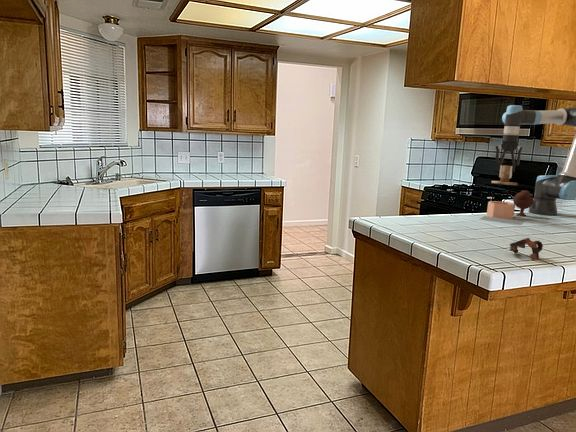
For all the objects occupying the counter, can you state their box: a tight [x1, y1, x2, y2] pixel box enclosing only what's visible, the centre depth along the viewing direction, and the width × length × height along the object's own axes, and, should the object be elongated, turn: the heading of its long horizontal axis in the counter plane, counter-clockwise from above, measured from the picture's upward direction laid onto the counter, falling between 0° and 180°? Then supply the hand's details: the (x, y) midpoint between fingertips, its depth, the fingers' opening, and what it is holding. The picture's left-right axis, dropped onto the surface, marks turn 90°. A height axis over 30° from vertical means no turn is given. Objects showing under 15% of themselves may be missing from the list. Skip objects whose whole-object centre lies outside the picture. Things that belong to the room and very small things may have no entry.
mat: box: [479, 215, 525, 226], centre depth 238 cm, size 20×14×1 cm
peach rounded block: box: [491, 164, 518, 186], centre depth 246 cm, size 13×13×10 cm
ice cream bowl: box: [512, 189, 534, 218], centre depth 257 cm, size 11×11×15 cm
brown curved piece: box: [509, 237, 544, 261], centre depth 166 cm, size 12×10×8 cm
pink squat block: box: [486, 200, 516, 219], centre depth 250 cm, size 13×13×8 cm
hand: (505, 177), depth 246 cm, fingers closed on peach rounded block, 4 cm apart
